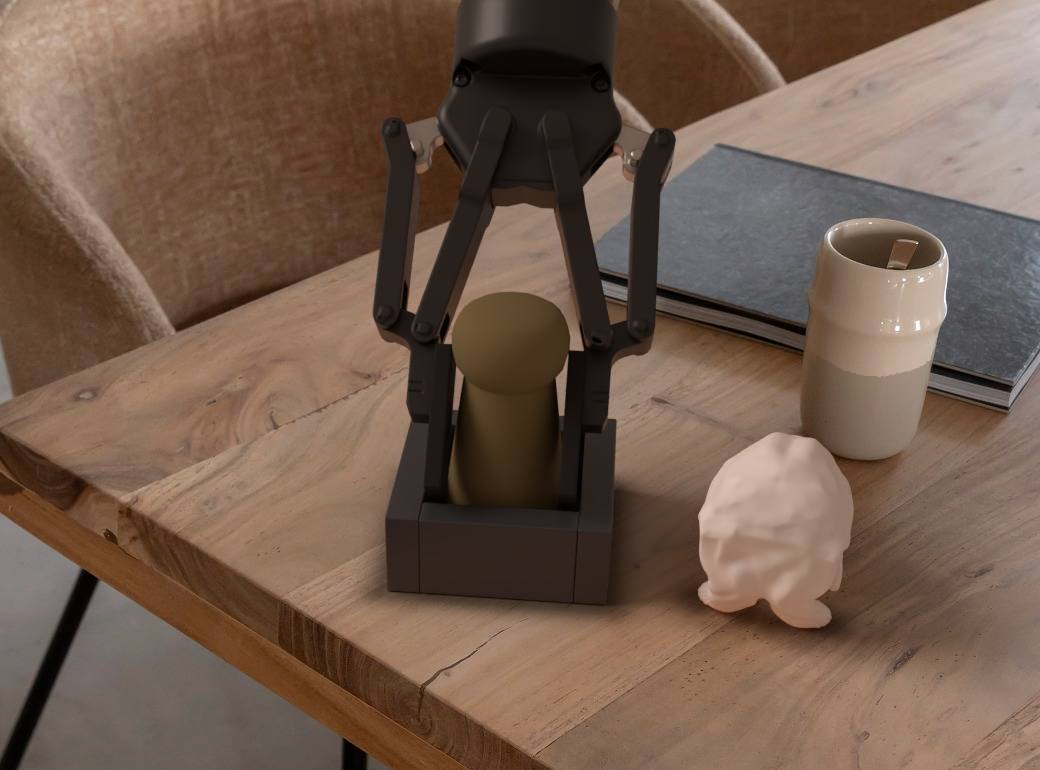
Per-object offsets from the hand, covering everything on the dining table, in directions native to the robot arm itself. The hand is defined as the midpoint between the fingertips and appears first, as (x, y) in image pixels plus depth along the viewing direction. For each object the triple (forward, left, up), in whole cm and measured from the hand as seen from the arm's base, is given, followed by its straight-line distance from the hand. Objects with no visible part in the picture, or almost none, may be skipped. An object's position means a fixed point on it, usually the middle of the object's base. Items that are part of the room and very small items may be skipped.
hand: (500, 497), depth 65 cm
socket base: (0, -4, -5) cm, 6 cm away
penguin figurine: (-13, -2, -5) cm, 14 cm away
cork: (0, -4, -4) cm, 5 cm away
